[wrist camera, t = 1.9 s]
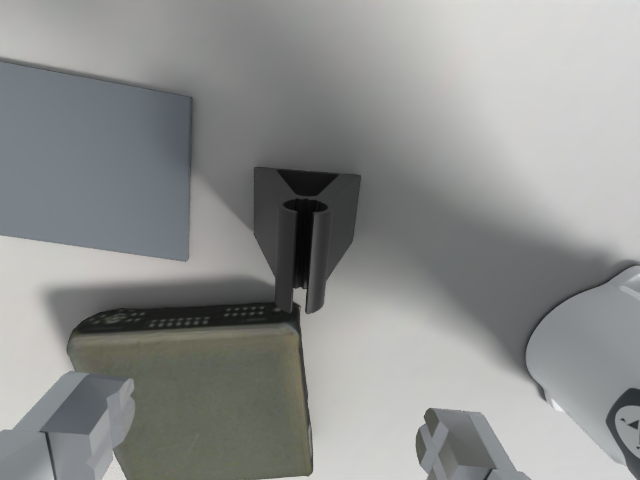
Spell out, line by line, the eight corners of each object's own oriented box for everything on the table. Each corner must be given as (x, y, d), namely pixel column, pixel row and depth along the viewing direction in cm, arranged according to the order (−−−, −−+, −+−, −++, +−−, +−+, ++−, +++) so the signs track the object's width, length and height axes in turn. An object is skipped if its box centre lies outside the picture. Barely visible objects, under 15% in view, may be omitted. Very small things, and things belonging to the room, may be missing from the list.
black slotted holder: (360, 174, 27) (394, 219, 16) (352, 239, 29) (376, 318, 18) (254, 166, 26) (213, 205, 15) (254, 232, 29) (217, 309, 18)
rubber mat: (192, 97, 24) (189, 97, 24) (188, 258, 30) (186, 261, 29) (-32, 55, 23) (-41, 54, 22) (5, 232, 28) (-1, 235, 28)
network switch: (155, 459, 41) (134, 504, 36) (67, 310, 32) (25, 344, 27) (333, 433, 40) (335, 476, 35) (293, 271, 31) (289, 299, 26)
